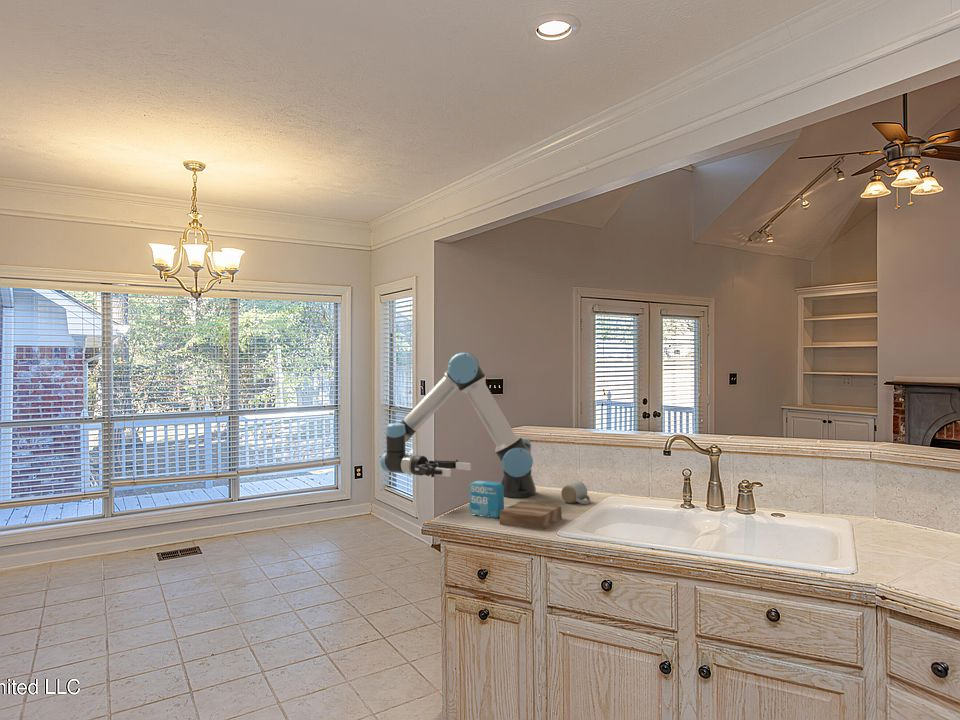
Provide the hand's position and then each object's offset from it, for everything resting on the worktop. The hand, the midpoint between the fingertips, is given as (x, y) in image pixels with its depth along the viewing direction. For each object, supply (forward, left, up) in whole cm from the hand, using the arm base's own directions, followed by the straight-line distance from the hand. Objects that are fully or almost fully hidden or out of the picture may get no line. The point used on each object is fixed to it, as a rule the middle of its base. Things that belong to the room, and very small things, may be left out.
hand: (460, 469), depth 227 cm
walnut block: (0, +29, -16) cm, 33 cm away
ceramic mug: (-33, +33, -16) cm, 49 cm away
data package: (0, +11, -16) cm, 19 cm away
